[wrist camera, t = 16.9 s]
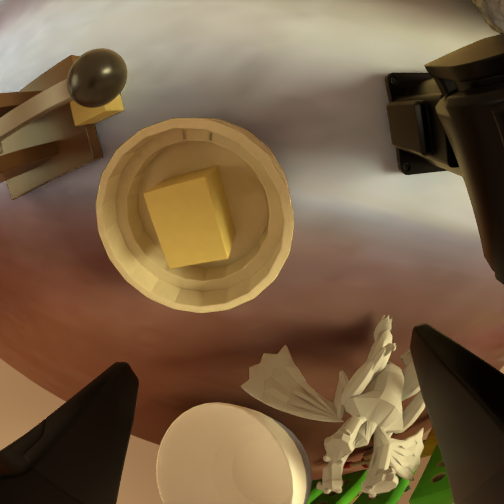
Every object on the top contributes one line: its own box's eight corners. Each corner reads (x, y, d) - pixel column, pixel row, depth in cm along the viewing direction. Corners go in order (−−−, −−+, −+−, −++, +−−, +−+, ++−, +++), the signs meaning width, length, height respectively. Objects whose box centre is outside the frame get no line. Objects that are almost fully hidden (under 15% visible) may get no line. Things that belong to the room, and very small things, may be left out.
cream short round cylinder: (357, 435, 24) (326, 443, 18) (297, 548, 19) (248, 578, 12) (240, 391, 35) (186, 377, 28) (198, 488, 29) (140, 492, 23)
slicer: (81, 56, 14) (-12, 45, 6) (103, 156, 18) (12, 192, 10) (0, 113, 16) (-77, 132, 8) (20, 196, 19) (-53, 237, 11)
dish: (269, 99, 16) (267, 93, 12) (302, 265, 20) (307, 298, 17) (107, 147, 17) (73, 157, 14) (156, 288, 22) (136, 320, 18)
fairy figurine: (422, 411, 23) (381, 533, 13) (280, 326, 28) (191, 441, 18) (491, 362, 17) (474, 519, 7) (323, 252, 22) (210, 402, 11)
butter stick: (115, 70, 15) (96, 67, 13) (124, 110, 16) (105, 111, 14) (86, 85, 15) (65, 84, 13) (94, 123, 17) (74, 126, 14)
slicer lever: (127, 48, 12) (113, 31, 9) (137, 97, 13) (124, 89, 11) (-27, 133, 11) (-56, 137, 8) (-18, 176, 12) (-47, 186, 10)
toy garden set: (454, 487, 11) (465, 522, 9) (473, 399, 25) (483, 426, 23) (252, 515, 23) (267, 542, 21) (336, 455, 37) (346, 476, 35)
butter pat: (218, 165, 17) (205, 176, 14) (236, 234, 19) (228, 259, 16) (164, 178, 18) (142, 193, 14) (185, 243, 19) (169, 269, 16)
